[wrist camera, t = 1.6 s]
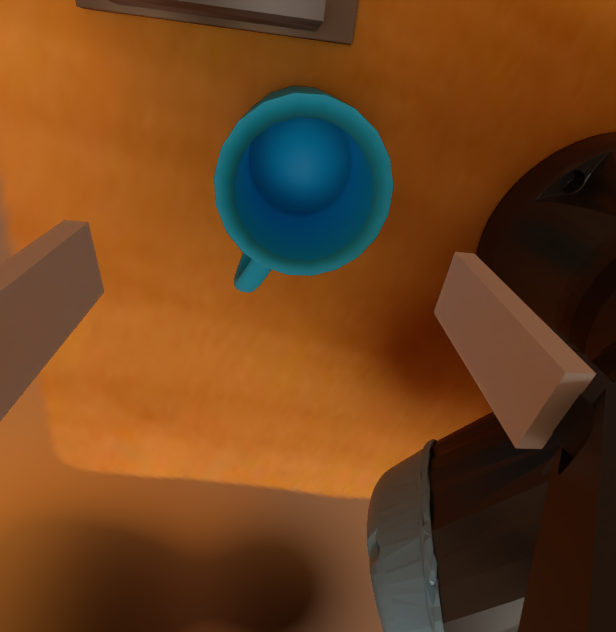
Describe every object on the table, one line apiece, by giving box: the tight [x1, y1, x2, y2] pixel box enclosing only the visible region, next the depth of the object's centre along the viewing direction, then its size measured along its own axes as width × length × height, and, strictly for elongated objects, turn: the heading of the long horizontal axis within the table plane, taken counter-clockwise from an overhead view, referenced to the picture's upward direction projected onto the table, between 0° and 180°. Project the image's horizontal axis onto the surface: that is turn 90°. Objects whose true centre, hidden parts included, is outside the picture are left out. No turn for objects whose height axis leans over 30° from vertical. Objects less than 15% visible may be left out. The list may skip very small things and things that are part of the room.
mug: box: [214, 86, 394, 292], centre depth 21 cm, size 12×8×8 cm
